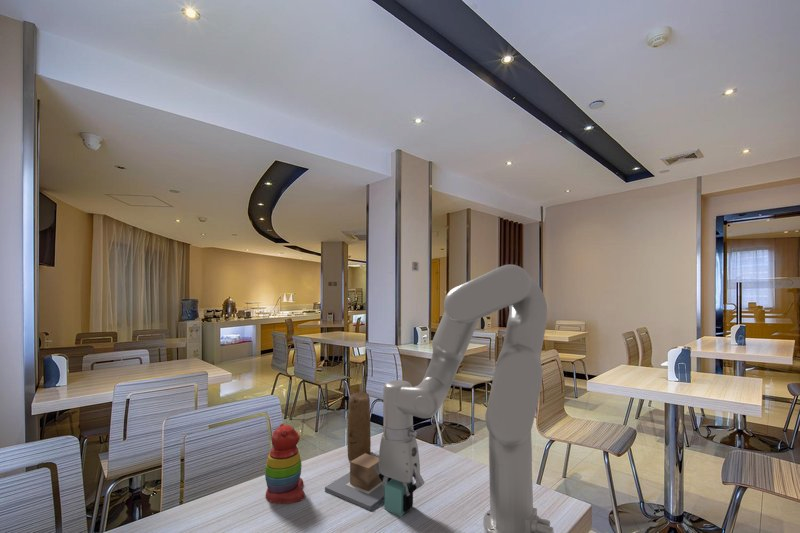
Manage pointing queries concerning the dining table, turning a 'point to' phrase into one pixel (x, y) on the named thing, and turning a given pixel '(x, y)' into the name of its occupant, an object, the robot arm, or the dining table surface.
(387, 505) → the teal block
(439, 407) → the robot arm
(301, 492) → the stacking bear
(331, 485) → the plate
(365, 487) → the walnut cube
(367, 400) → the brown rounded lumpy part
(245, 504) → the dining table surface
